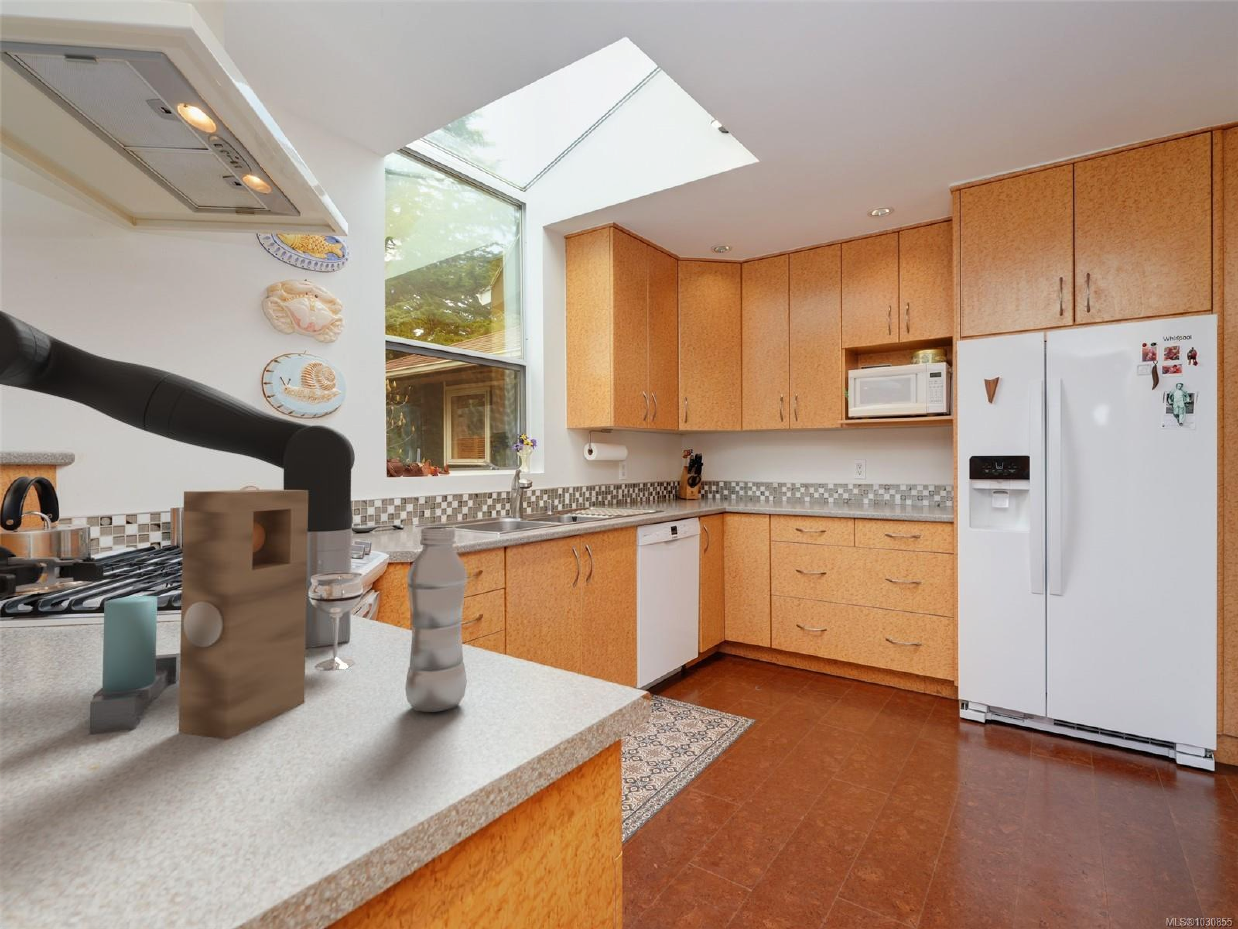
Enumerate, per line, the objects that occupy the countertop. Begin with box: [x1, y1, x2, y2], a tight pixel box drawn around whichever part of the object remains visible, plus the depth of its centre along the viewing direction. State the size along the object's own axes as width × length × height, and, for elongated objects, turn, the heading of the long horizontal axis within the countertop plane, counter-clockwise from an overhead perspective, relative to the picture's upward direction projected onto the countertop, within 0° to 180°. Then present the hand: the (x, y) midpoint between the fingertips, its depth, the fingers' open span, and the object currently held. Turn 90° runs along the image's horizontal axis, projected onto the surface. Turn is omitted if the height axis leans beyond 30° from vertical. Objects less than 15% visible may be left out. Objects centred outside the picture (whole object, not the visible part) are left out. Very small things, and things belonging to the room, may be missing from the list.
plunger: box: [253, 523, 265, 553], centre depth 65 cm, size 7×3×3 cm, turn 76°
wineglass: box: [309, 571, 364, 671], centre depth 82 cm, size 7×7×12 cm
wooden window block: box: [178, 489, 308, 740], centre depth 64 cm, size 6×10×24 cm, turn 166°
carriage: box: [92, 595, 162, 700], centre depth 65 cm, size 5×5×10 cm
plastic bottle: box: [404, 525, 468, 713], centre depth 67 cm, size 6×7×20 cm
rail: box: [88, 653, 180, 735], centre depth 68 cm, size 4×16×3 cm, turn 23°
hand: (58, 578), depth 67 cm, fingers open, 8 cm apart
